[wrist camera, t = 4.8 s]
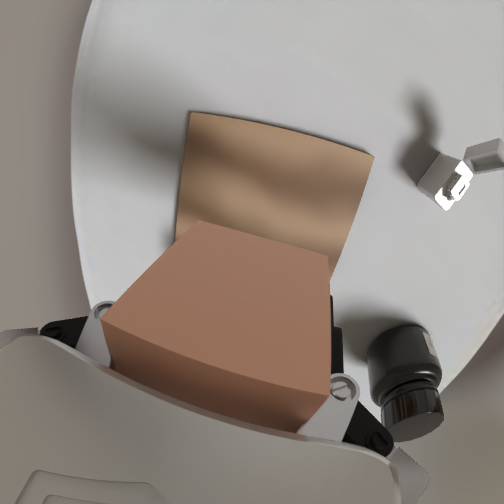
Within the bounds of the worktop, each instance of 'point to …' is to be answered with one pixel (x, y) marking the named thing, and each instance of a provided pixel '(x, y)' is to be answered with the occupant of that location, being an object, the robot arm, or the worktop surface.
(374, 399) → the ink bottle
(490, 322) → the worktop surface
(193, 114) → the base board
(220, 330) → the salmon orange block
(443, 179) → the lighter
